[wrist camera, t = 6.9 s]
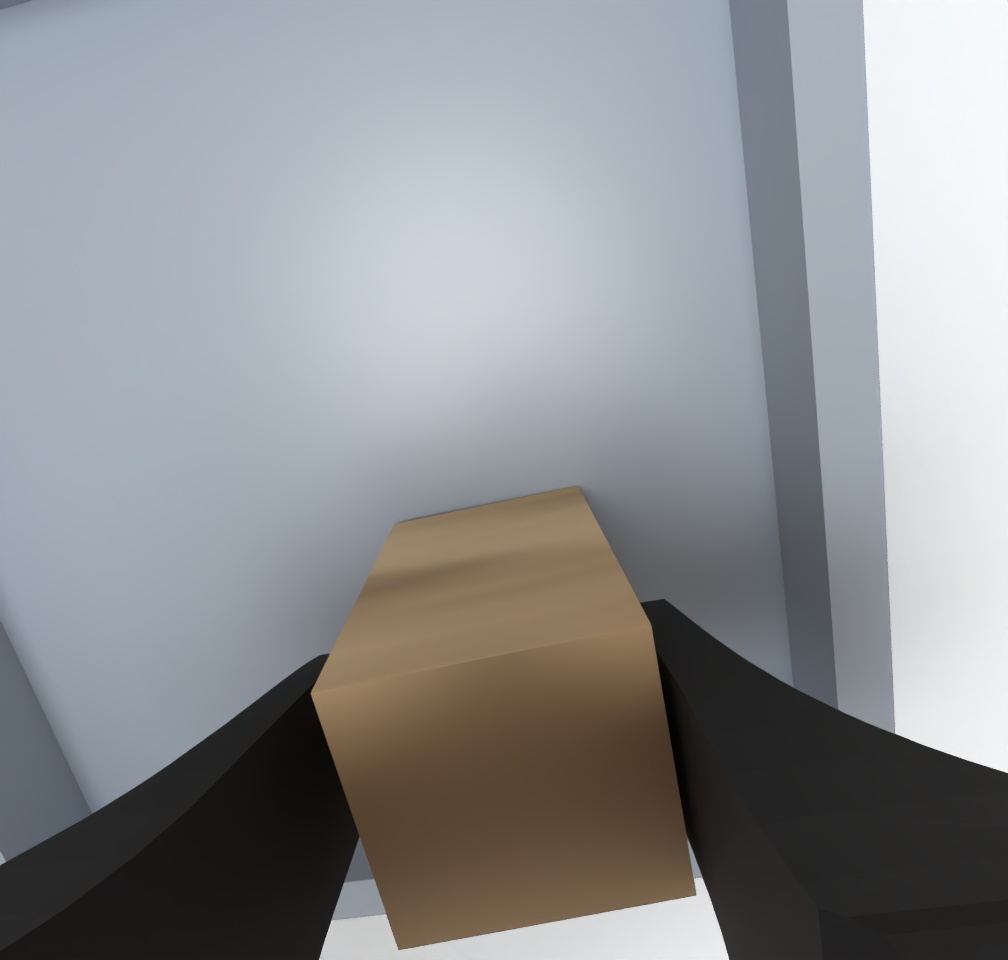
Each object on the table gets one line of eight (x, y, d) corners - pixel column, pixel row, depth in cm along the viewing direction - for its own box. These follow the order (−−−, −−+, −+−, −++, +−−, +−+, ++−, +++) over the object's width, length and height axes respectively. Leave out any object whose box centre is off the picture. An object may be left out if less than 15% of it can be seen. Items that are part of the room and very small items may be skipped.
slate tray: (828, 749, 15) (899, 854, 12) (104, 847, 17) (16, 956, 14) (750, -253, 10) (841, -491, 7) (-271, 57, 12) (-532, -27, 9)
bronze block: (609, 650, 14) (696, 895, 8) (438, 684, 14) (398, 950, 8) (577, 485, 13) (651, 624, 7) (394, 523, 13) (310, 693, 7)
